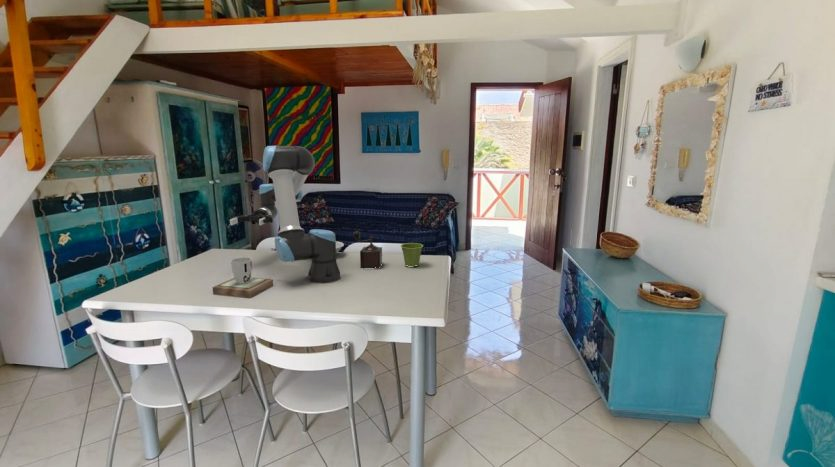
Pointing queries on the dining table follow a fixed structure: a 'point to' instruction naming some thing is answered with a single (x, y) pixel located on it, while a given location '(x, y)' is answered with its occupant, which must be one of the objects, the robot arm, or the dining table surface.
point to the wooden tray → (243, 287)
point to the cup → (242, 269)
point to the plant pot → (411, 253)
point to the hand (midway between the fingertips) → (245, 222)
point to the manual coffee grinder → (369, 254)
